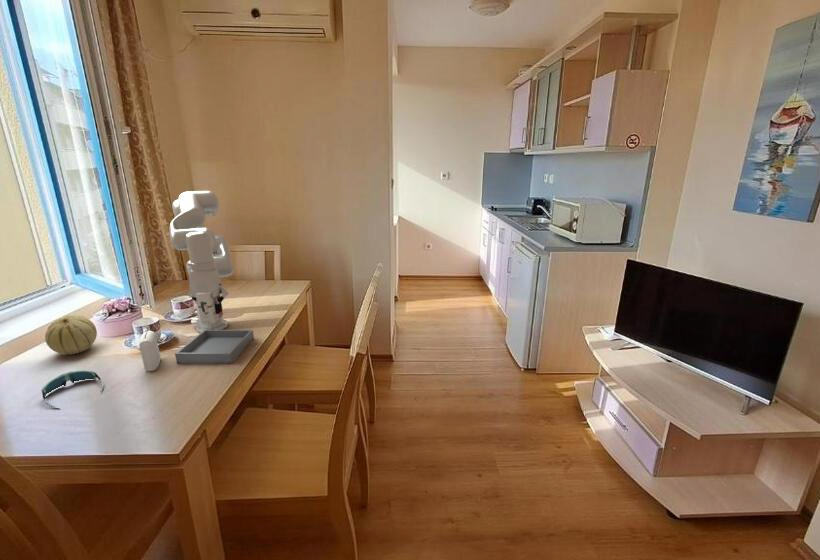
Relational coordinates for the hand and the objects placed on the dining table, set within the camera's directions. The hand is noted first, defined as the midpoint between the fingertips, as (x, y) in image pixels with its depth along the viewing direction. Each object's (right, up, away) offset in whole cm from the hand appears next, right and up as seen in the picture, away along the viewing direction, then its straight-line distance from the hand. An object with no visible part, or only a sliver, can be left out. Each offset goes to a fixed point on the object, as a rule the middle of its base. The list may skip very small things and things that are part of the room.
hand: (211, 312), depth 143 cm
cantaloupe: (-54, -16, +4) cm, 56 cm away
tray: (0, -15, +5) cm, 16 cm away
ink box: (0, -3, +1) cm, 3 cm away
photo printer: (-18, -19, -5) cm, 27 cm away
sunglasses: (-32, -24, -21) cm, 46 cm away
